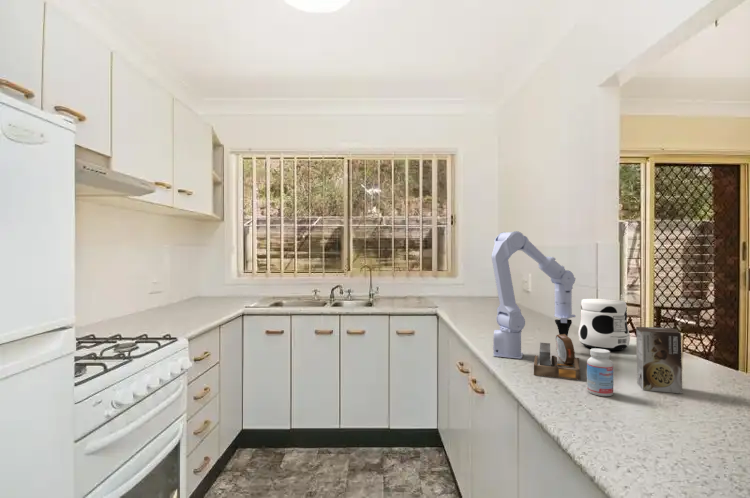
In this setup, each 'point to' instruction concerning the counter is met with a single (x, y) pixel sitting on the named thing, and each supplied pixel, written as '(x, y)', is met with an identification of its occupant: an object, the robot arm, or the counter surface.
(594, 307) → the milk container
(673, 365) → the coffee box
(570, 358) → the tin
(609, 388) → the pill bottle
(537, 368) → the rack
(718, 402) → the counter surface
